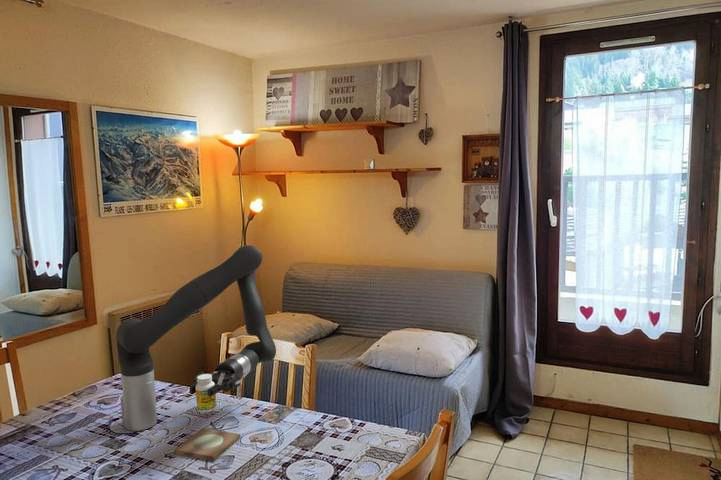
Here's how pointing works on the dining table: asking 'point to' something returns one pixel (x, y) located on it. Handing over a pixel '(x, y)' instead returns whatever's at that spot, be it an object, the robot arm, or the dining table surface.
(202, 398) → the supplement bottle
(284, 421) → the dining table surface
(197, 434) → the walnut board
